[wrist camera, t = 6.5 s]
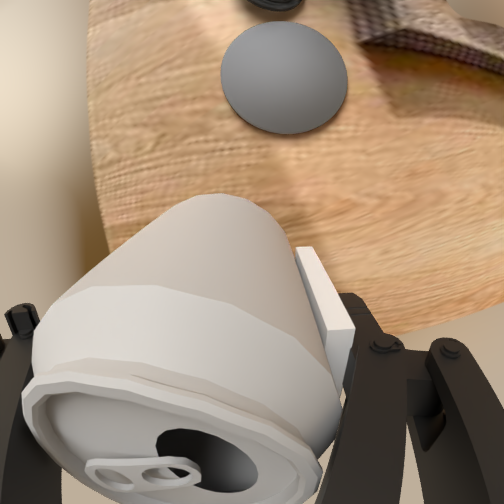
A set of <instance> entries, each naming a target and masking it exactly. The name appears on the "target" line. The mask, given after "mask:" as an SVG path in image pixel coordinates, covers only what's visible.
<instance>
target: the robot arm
mask: <svg viewBox="0 0 504 504" xmlns="http://www.w3.org/2000/svg"><path fill="white" fill-rule="evenodd" d="M295 261H296V264H297V267H298V270H299V273H300V275H301V278H302V281H303V284H304V287H305V290H306V293H307V296H308V299H309V302H310V305H311V308H312V311H313V315H314V318H315V321H316V324H317V327H318V330H319V333H320V336H321V340H322V343H323V346H324V349H325V352H326V356H327V359H328V362H329V365H330V369H331V372H332V375H333V379H334V382H335V385H336V389H337V392H338V396H339V398H340V396H341V391H342V388H344V391H345V394H346V399H345V403H344V406H343V409H342V414H341V418H340V423H339V427H338V431H337V434H336V438H335V442H334V445H333V449H332V452H331V456H330V459H329V463H328V466H327V469H326V473H325V476H324V479H323V482H322V485H321V488H320V491H319V494H318V496H317V499H316V502H315V504H399V500H400V494H401V487H402V479H403V469H404V459H405V458H404V457H405V445H406V444H405V443H406V424H407V425H408V429H409V433H410V437H411V441H412V445H413V449H414V453H415V458H416V463H417V467H418V472H419V477H420V482H421V487H422V493H423V499H424V504H504V409H503V407H502V405H501V403H500V401H499V399H498V398H497V396H496V394H495V392H494V390H493V389H492V387H491V385H490V383H489V382H488V380H487V378H486V377H485V375H484V373H483V372H482V370H481V369H480V367H479V365H478V364H477V362H476V360H475V359H474V357H473V356H472V354H471V353H470V351H469V349H468V348H467V347H466V346H465V345H464V344H463V343H461V342H460V341H458V340H456V339H453V338H439V339H436V340H435V341H433V342H432V344H431V346H430V349H429V351H416V350H408V349H405V347H404V345H403V343H402V342H401V341H400V340H399V339H398V338H396V337H395V336H393V335H390V334H386V333H383V331H382V330H381V328H380V326H379V325H378V323H377V321H376V320H375V318H374V317H373V315H372V314H371V312H370V310H369V309H368V308H367V306H366V304H365V303H364V301H363V300H362V299H361V298H360V297H358V296H357V295H355V294H354V293H337V291H336V290H335V288H334V286H333V284H332V282H331V280H330V278H329V277H328V275H327V273H326V271H325V269H324V267H323V265H322V264H321V262H320V260H319V258H318V256H317V255H316V253H315V251H314V249H313V247H296V255H295ZM4 315H5V317H6V320H7V322H8V325H9V327H10V330H11V332H12V335H13V336H12V338H11V339H2V336H1V334H0V504H62V494H61V472H62V471H61V470H62V467H60V466H59V465H58V464H57V463H56V462H55V461H54V460H53V459H52V458H51V457H50V456H49V455H48V454H47V453H46V452H45V450H44V449H43V448H42V447H41V446H40V445H39V444H38V442H37V441H36V439H35V437H34V436H33V434H32V432H31V430H30V428H29V427H28V425H27V423H26V421H25V418H24V415H23V407H22V394H21V393H22V391H23V390H24V389H25V387H26V386H27V385H28V384H29V383H30V381H31V380H32V379H33V378H34V373H33V367H32V348H33V336H34V330H35V329H36V327H37V326H38V324H39V323H40V320H39V317H38V314H37V311H36V308H35V306H34V305H33V304H30V303H24V304H20V305H17V306H14V307H12V308H11V309H10V310H8V311H7V312H6V313H5V314H4Z"/></svg>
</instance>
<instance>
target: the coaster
mask: <svg viewBox="0 0 504 504" xmlns="http://www.w3.org/2000/svg"><path fill="white" fill-rule="evenodd" d="M221 83H222V88H223V91H224V93H225V96H226V98H227V100H228V102H229V103H230V105H231V106H232V108H233V109H234V110H235V112H236V113H237V114H238V115H239V116H240V117H242V118H243V119H244V120H245V121H247V122H248V123H250V124H252V125H253V126H255V127H257V128H260V129H262V130H265V131H268V132H272V133H277V134H296V133H302V132H306V131H309V130H312V129H314V128H316V127H319V126H320V125H322V124H324V123H325V122H327V121H328V120H329V119H330V118H332V117H333V115H334V114H335V113H336V112H337V111H338V109H339V108H340V106H341V105H342V103H343V100H344V98H345V95H346V91H347V71H346V67H345V64H344V62H343V59H342V57H341V55H340V54H339V52H338V50H337V49H336V48H335V46H334V45H333V44H332V43H331V42H330V41H329V40H328V39H327V38H326V37H324V36H323V35H322V34H320V33H319V32H317V31H316V30H314V29H312V28H310V27H307V26H305V25H302V24H298V23H294V22H286V21H274V22H267V23H263V24H259V25H256V26H254V27H252V28H250V29H248V30H246V31H244V32H243V33H242V34H240V35H239V36H238V37H237V38H236V39H235V40H234V41H233V42H232V43H231V45H230V46H229V47H228V49H227V51H226V53H225V55H224V58H223V60H222V65H221Z"/></svg>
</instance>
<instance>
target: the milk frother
mask: <svg viewBox="0 0 504 504" xmlns="http://www.w3.org/2000/svg"><path fill="white" fill-rule="evenodd" d="M247 1H249V2H251V3H252V4H254V5H256V6H258V7H260V8H263V9H266V10H271V11H288V10H291V9H293V8H295V7H296V6H297V5H298V4H299V3H300V2H301V1H302V0H247Z"/></svg>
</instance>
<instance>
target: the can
mask: <svg viewBox="0 0 504 504" xmlns="http://www.w3.org/2000/svg"><path fill="white" fill-rule="evenodd" d="M32 367H33V373H34V378H33V379H32V380H31V381H30V383H29V384H28V385H27V386H26V387H25V389H24V390H23V391H22V393H21V394H22V407H23V415H24V418H25V421H26V423H27V425H28V427H29V428H30V430H31V432H32V434H33V436H34V437H35V439H36V441H37V442H38V444H39V445H40V446H41V447H42V448H43V449H44V450H45V452H46V453H47V454H48V455H49V456H50V457H51V458H52V459H53V460H54V461H55V462H56V463H57V464H58V465H59V466H60V467H62V468H63V469H64V470H65V471H67V472H68V473H69V474H70V475H72V476H73V477H74V478H76V479H77V480H78V481H80V482H81V483H83V484H84V485H86V486H87V487H89V488H91V489H93V490H94V491H96V492H98V493H100V494H101V495H103V496H105V497H107V498H109V499H111V500H113V501H115V502H118V503H120V504H302V503H304V502H305V501H306V500H307V499H309V498H310V497H311V496H312V495H313V494H314V493H315V492H317V490H318V487H319V484H320V480H321V477H322V474H323V470H322V467H321V465H320V464H319V462H318V459H319V457H320V456H321V455H322V454H323V453H324V452H325V450H326V449H327V448H328V447H329V446H330V444H331V443H332V442H333V441H334V440H335V438H336V434H337V430H338V426H339V422H340V418H341V414H342V406H341V403H340V399H339V396H338V392H337V389H336V385H335V382H334V379H333V375H332V372H331V369H330V365H329V362H328V359H327V356H326V352H325V349H324V346H323V343H322V340H321V336H320V333H319V330H318V327H317V324H316V321H315V318H314V315H313V311H312V308H311V305H310V302H309V299H308V296H307V293H306V290H305V287H304V284H303V281H302V278H301V275H300V273H299V270H298V267H297V264H296V261H295V258H294V255H293V252H292V250H291V247H290V244H289V242H288V239H287V236H286V234H285V231H284V230H283V229H282V228H281V227H280V225H279V224H278V223H277V222H276V221H275V219H274V218H273V217H272V216H271V215H270V213H269V212H267V211H265V210H264V209H262V208H261V207H259V206H257V205H256V204H254V203H253V202H251V201H249V200H248V199H244V198H240V197H236V196H232V195H228V194H223V193H219V194H207V195H197V196H194V197H192V198H190V199H188V200H185V201H183V202H181V203H179V204H176V205H174V206H173V207H172V208H170V209H169V210H167V211H166V212H165V213H163V214H162V215H161V216H159V217H158V218H157V219H155V220H154V221H152V222H151V223H150V224H148V225H147V226H146V227H144V228H143V229H142V230H141V231H139V232H138V233H137V234H135V235H134V236H133V237H131V238H130V239H129V240H128V241H126V242H125V243H124V244H123V245H121V246H120V247H119V248H117V249H116V250H115V251H114V252H112V253H111V254H110V255H109V256H108V257H106V258H105V259H104V260H103V261H102V262H100V263H99V264H98V265H97V266H95V267H94V268H93V269H92V270H91V271H89V272H88V273H87V274H86V275H85V276H84V277H82V278H81V279H80V280H79V281H78V282H77V283H75V284H74V285H73V286H72V287H71V288H70V289H69V290H68V291H66V292H65V293H64V294H63V295H62V296H61V297H60V298H59V299H58V300H56V301H55V302H54V303H53V304H52V306H51V307H50V309H49V310H48V311H47V313H46V314H45V315H44V317H43V318H42V320H41V321H40V323H39V324H38V326H37V327H36V329H35V330H34V336H33V348H32Z"/></svg>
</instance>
